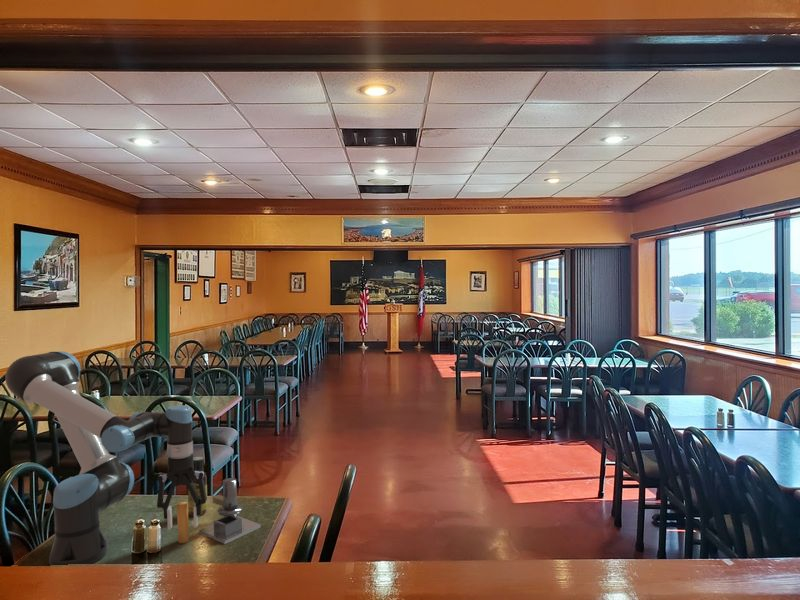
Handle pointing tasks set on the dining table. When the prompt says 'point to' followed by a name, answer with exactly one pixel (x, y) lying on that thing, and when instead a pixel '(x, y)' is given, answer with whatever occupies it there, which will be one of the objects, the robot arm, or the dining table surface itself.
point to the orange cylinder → (183, 522)
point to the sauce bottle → (197, 486)
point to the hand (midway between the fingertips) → (183, 526)
